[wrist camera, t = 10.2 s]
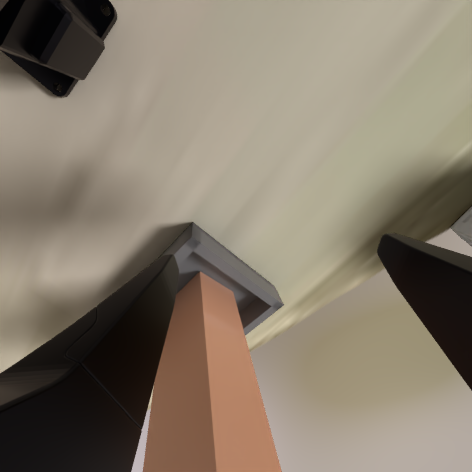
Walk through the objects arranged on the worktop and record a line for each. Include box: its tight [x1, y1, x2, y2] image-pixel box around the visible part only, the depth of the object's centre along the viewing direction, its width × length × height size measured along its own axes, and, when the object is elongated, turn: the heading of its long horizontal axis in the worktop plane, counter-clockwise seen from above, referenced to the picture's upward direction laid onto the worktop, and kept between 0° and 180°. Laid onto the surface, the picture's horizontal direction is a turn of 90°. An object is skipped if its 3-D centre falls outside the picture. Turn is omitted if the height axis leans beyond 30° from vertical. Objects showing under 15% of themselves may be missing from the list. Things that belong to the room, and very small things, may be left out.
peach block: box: [143, 271, 282, 472], centre depth 17 cm, size 5×6×15 cm
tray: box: [157, 222, 284, 335], centre depth 23 cm, size 13×13×3 cm
